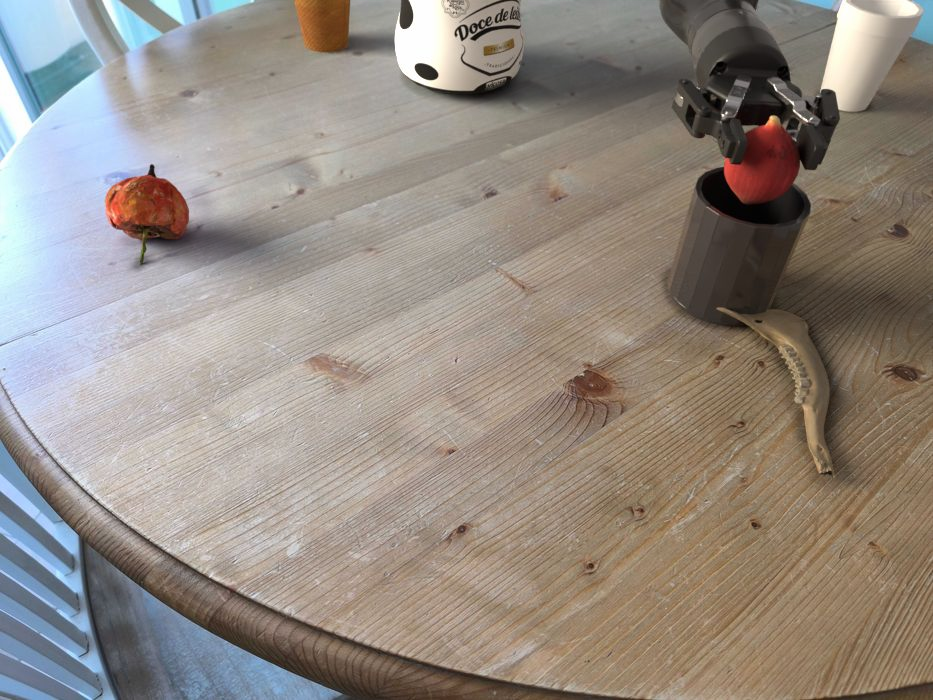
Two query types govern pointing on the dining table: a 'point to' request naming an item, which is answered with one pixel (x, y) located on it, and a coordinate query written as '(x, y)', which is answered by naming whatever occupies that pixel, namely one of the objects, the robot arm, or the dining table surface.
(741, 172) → the onion
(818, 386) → the jawbone
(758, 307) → the tumbler
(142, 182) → the orange pumpkin
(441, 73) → the doce de leite jar
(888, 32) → the foam cup
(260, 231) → the dining table surface
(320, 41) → the disposable coffee cup
